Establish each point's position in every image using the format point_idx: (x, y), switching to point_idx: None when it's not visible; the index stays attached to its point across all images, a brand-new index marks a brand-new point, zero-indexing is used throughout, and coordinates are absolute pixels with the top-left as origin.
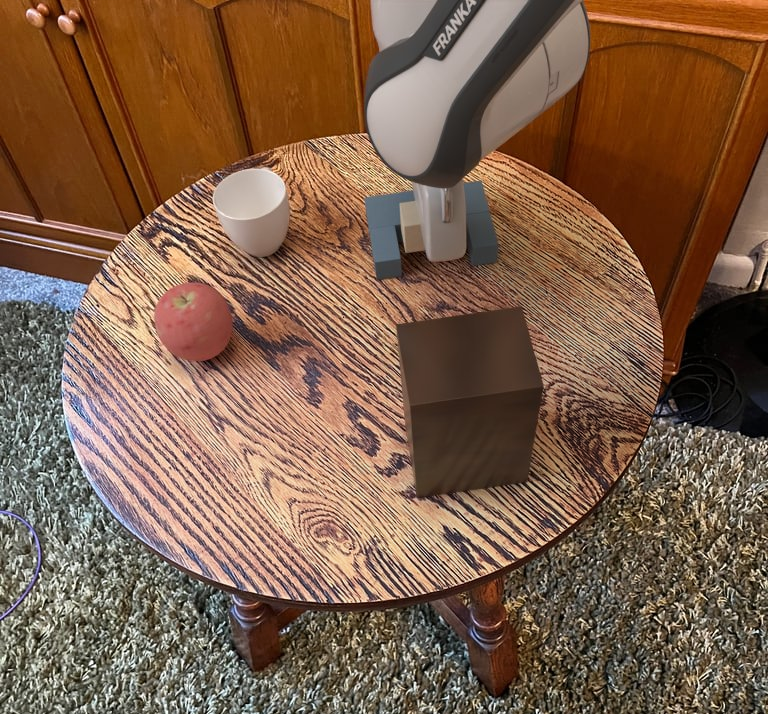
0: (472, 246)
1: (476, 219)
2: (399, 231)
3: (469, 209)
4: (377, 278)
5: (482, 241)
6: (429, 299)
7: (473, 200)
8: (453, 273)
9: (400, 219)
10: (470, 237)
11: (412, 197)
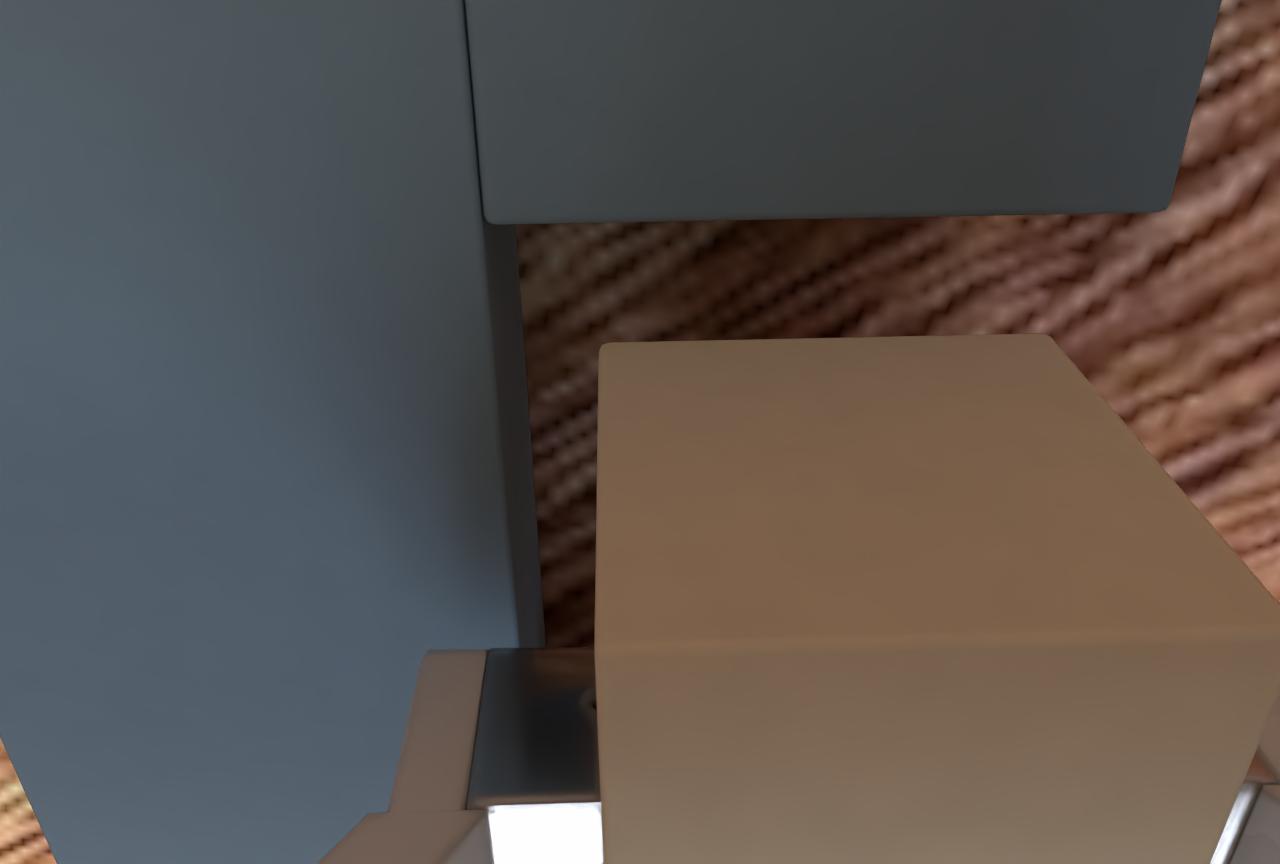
0: (1133, 210)
1: (605, 60)
2: None
3: (365, 133)
4: None
5: (1103, 48)
6: (1275, 555)
7: (153, 35)
8: (1064, 327)
9: None
10: (957, 211)
11: (124, 743)
